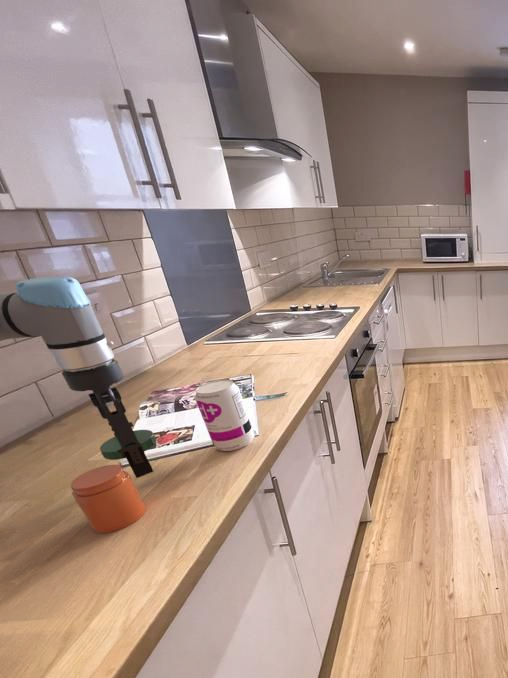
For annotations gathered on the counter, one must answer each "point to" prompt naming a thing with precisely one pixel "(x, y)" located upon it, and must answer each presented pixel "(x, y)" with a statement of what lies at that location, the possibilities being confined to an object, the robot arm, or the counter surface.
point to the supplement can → (224, 415)
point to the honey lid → (113, 445)
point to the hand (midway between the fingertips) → (140, 465)
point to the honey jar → (108, 498)
